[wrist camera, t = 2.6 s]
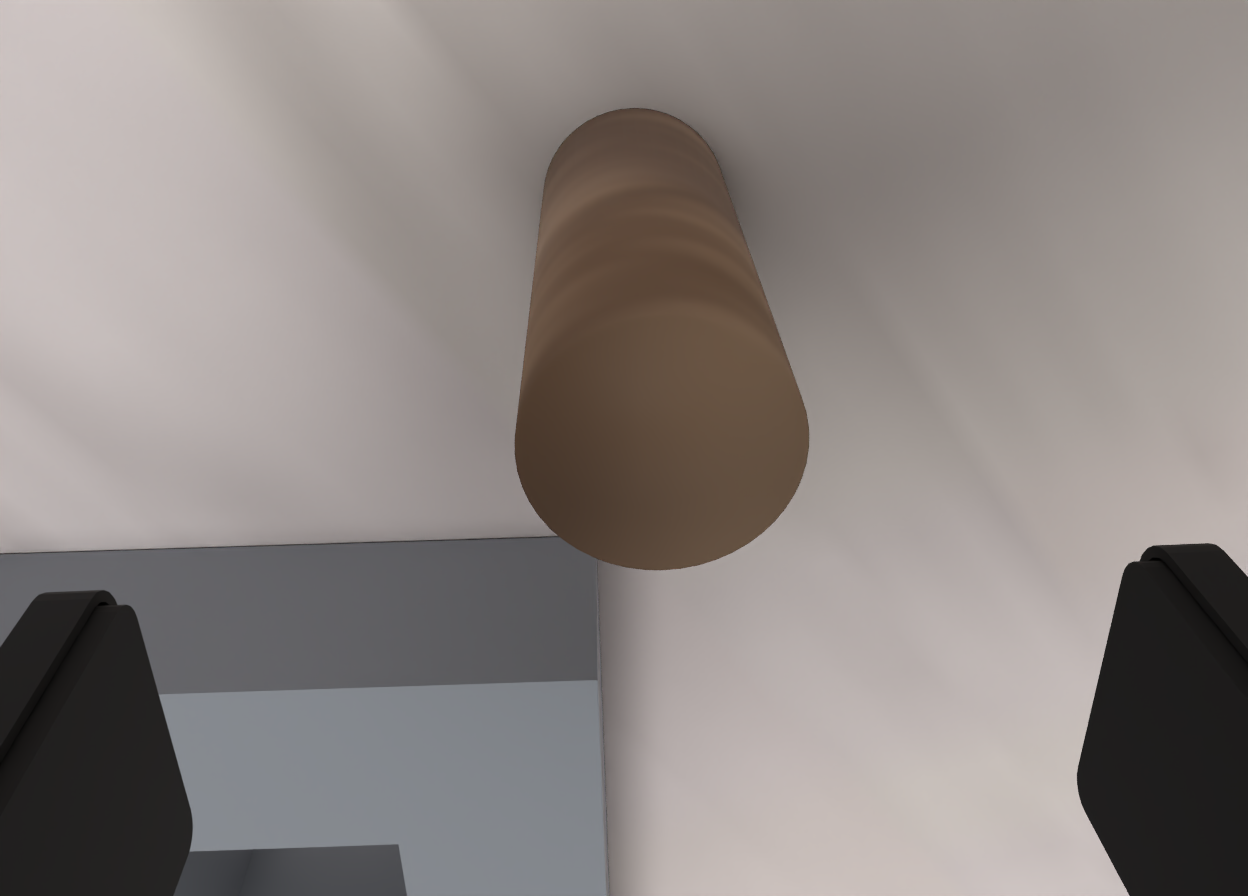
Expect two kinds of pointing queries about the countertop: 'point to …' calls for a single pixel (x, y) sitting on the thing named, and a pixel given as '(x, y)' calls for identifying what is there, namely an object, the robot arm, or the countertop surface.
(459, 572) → the socket block
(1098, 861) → the countertop surface
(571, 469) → the peg
